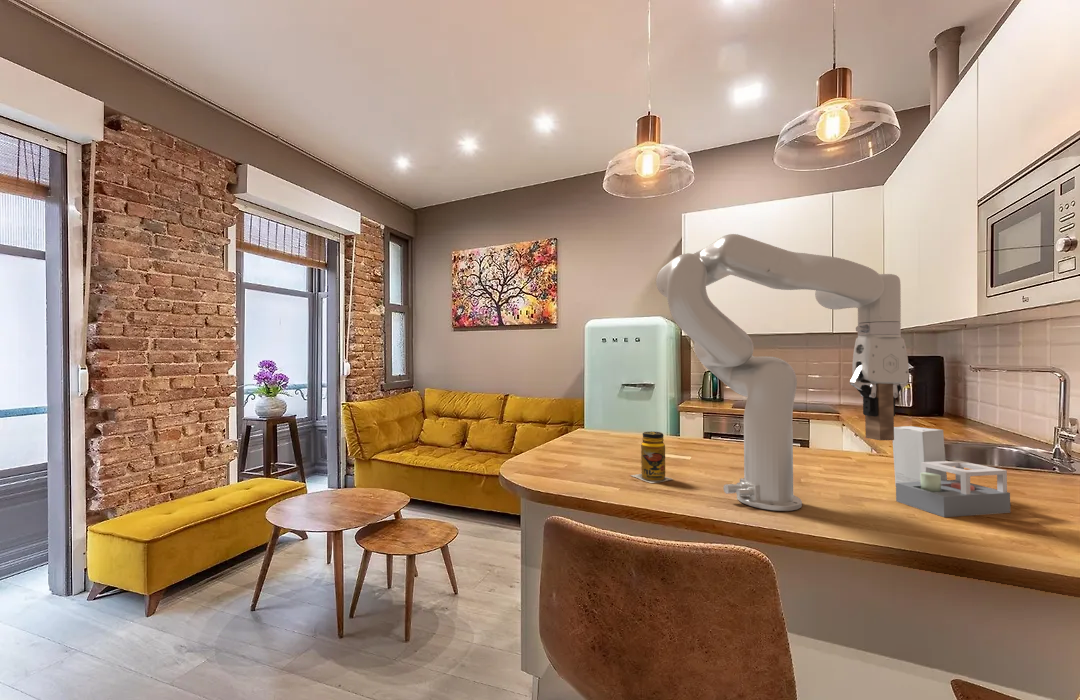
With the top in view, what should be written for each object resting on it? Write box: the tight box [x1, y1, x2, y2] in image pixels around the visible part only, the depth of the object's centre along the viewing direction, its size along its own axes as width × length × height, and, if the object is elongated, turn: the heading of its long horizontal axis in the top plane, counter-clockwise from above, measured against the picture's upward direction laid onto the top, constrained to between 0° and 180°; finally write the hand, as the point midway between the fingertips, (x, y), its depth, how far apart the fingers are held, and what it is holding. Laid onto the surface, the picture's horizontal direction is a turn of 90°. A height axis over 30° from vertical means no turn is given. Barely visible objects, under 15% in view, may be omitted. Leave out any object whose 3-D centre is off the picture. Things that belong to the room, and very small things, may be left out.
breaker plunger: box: [951, 483, 974, 491], centre depth 95 cm, size 4×4×3 cm
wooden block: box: [864, 380, 895, 441], centre depth 98 cm, size 4×4×14 cm
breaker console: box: [895, 460, 1011, 518], centre depth 95 cm, size 16×10×8 cm, turn 99°
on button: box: [921, 472, 941, 492], centre depth 94 cm, size 3×3×4 cm
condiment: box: [630, 431, 673, 484], centre depth 118 cm, size 7×8×12 cm
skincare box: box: [892, 425, 948, 487], centre depth 106 cm, size 8×6×15 cm
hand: (878, 414), depth 98 cm, fingers closed on wooden block, 3 cm apart
